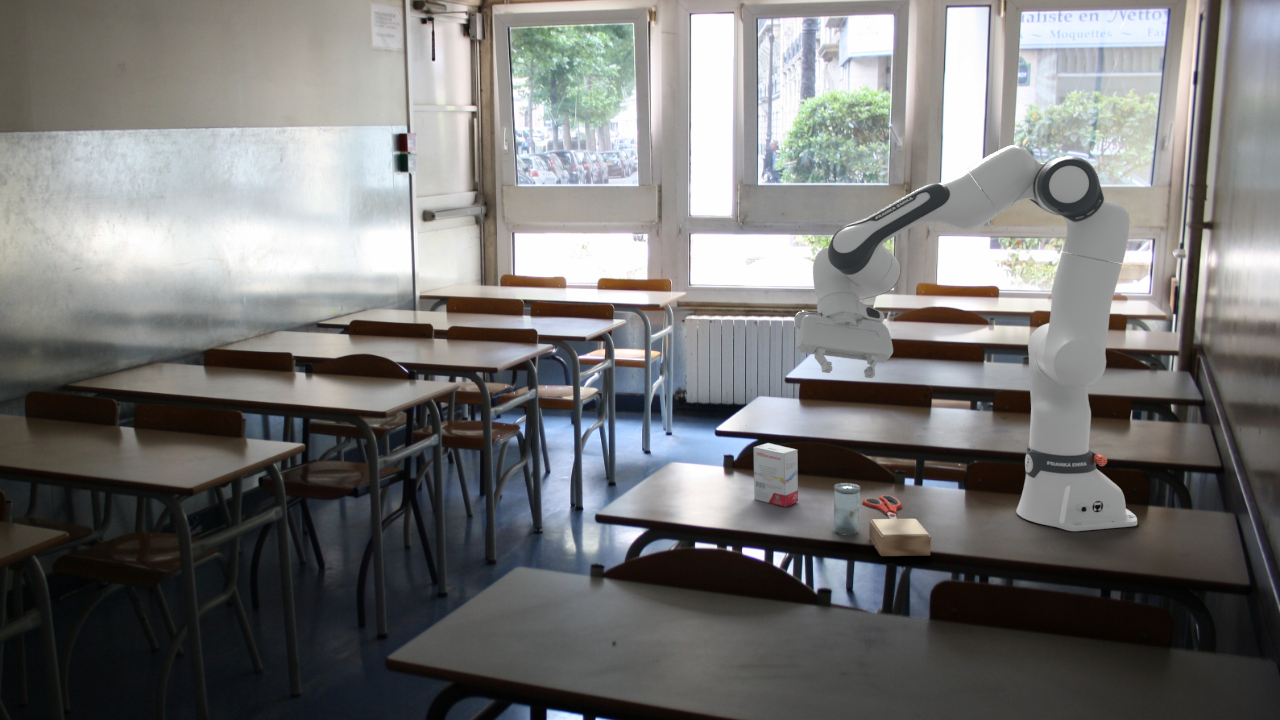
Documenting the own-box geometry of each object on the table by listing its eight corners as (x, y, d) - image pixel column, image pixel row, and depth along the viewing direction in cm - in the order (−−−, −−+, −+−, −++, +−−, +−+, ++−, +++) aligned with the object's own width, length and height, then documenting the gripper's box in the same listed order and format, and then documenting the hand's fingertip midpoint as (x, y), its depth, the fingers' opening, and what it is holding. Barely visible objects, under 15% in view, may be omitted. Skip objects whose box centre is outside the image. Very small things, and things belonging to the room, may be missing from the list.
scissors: (896, 535, 195) (896, 528, 195) (858, 502, 215) (858, 495, 215) (933, 533, 196) (934, 526, 196) (892, 500, 216) (892, 493, 216)
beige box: (915, 538, 192) (916, 518, 192) (930, 555, 183) (930, 534, 183) (869, 538, 192) (869, 518, 191) (881, 556, 183) (881, 535, 183)
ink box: (799, 503, 214) (800, 449, 212) (784, 508, 210) (785, 453, 208) (767, 494, 220) (767, 441, 218) (752, 499, 216) (752, 446, 214)
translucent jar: (855, 526, 199) (857, 482, 197) (861, 535, 194) (862, 490, 192) (830, 526, 199) (831, 483, 197) (835, 535, 194) (837, 490, 192)
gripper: (799, 301, 203) (807, 360, 196) (891, 314, 208) (901, 371, 201) (787, 318, 208) (794, 375, 201) (877, 329, 213) (886, 386, 206)
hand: (848, 374), depth 201 cm, fingers open, 8 cm apart
